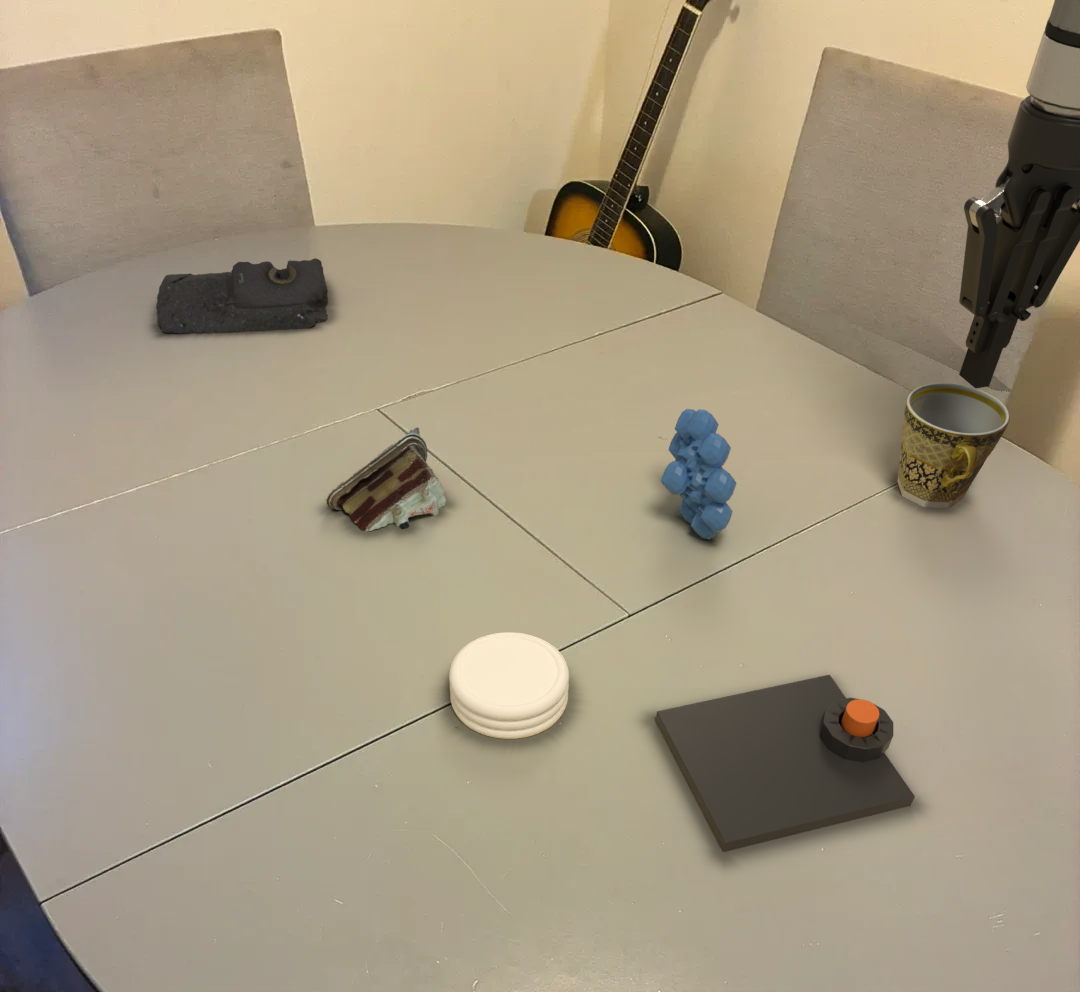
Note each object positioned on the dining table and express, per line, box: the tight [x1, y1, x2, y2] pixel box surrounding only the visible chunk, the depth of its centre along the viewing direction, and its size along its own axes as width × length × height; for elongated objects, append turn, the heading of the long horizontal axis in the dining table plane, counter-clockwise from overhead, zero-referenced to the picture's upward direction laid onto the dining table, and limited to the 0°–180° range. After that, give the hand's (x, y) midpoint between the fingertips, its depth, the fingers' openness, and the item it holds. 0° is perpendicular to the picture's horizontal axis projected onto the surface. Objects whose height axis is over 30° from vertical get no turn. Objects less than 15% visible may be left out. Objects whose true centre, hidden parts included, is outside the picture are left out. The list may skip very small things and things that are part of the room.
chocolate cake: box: [324, 427, 447, 532], centre depth 105 cm, size 10×7×12 cm
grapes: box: [660, 408, 737, 540], centre depth 101 cm, size 12×7×12 cm, turn 18°
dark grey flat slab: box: [655, 674, 916, 853], centre depth 83 cm, size 17×14×3 cm
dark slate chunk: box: [155, 257, 329, 335], centre depth 134 cm, size 15×22×5 cm
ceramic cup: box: [896, 382, 1011, 509], centre depth 105 cm, size 13×10×10 cm
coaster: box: [448, 631, 570, 740], centre depth 87 cm, size 10×10×4 cm
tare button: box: [841, 698, 879, 737], centre depth 82 cm, size 3×3×2 cm
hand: (973, 380), depth 98 cm, fingers closed
